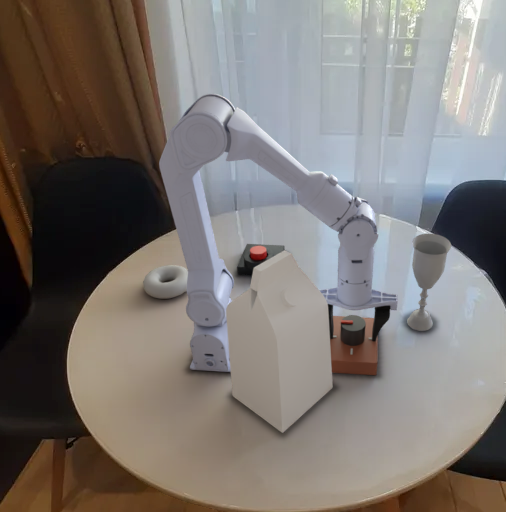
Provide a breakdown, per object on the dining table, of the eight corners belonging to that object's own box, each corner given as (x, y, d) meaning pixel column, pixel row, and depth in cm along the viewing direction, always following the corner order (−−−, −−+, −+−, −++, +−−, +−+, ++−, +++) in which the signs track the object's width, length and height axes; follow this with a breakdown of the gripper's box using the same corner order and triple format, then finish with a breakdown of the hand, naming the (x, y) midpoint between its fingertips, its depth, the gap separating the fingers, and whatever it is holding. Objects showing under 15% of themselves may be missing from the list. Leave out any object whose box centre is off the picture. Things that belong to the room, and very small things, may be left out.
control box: (277, 279, 107) (276, 263, 105) (237, 277, 108) (235, 261, 105) (284, 253, 116) (284, 238, 113) (247, 251, 116) (246, 237, 114)
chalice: (436, 337, 92) (451, 257, 82) (400, 331, 93) (410, 252, 83) (437, 313, 98) (451, 235, 87) (404, 308, 99) (413, 231, 88)
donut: (183, 304, 100) (199, 275, 108) (180, 290, 98) (197, 263, 106) (137, 300, 100) (156, 272, 108) (133, 287, 98) (152, 260, 106)
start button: (265, 261, 106) (264, 254, 105) (249, 260, 106) (248, 253, 105) (268, 252, 109) (267, 245, 108) (252, 251, 109) (251, 245, 108)
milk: (283, 356, 87) (274, 230, 72) (332, 387, 82) (334, 257, 66) (232, 395, 80) (210, 263, 65) (282, 433, 74) (271, 297, 59)
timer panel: (376, 375, 84) (377, 362, 82) (324, 372, 84) (324, 359, 83) (376, 330, 94) (377, 317, 92) (330, 327, 94) (330, 314, 92)
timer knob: (365, 330, 89) (366, 314, 87) (364, 346, 85) (365, 330, 83) (341, 329, 89) (341, 312, 87) (339, 345, 86) (339, 329, 83)
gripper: (398, 262, 82) (392, 324, 90) (313, 258, 83) (314, 319, 91) (400, 287, 76) (393, 350, 84) (308, 282, 77) (310, 345, 85)
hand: (352, 336), depth 87 cm, fingers open, 7 cm apart
